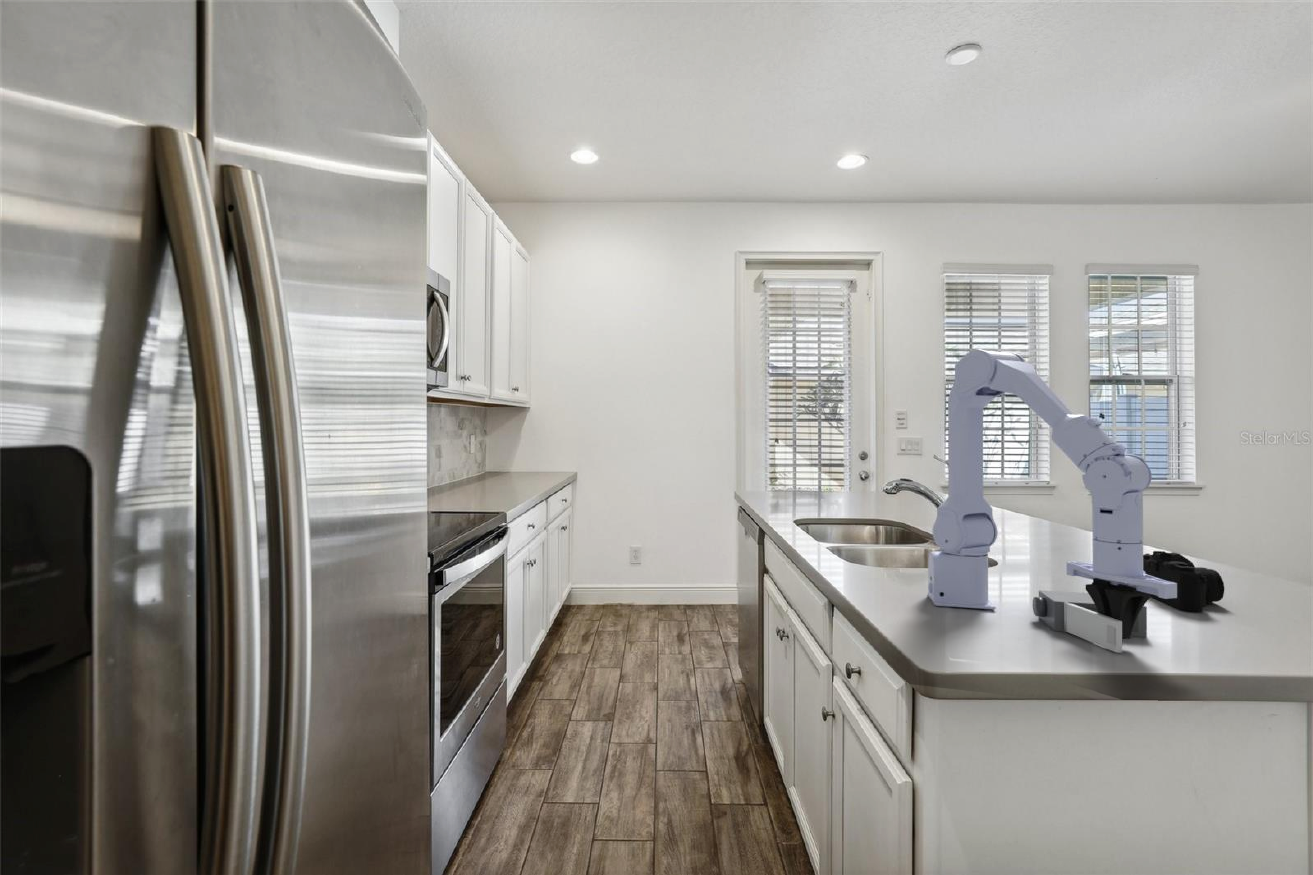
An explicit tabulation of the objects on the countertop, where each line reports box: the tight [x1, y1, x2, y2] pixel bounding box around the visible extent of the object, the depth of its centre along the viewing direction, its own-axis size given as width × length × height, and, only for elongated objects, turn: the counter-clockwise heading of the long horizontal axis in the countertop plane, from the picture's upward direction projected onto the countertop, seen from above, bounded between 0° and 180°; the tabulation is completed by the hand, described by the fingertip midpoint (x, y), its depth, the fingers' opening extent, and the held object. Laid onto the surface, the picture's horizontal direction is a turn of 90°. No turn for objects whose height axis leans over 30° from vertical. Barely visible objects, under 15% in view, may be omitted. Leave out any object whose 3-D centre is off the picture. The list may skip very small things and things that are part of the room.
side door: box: [1063, 602, 1123, 653], centre depth 88 cm, size 10×1×4 cm, turn 5°
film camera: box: [1143, 550, 1225, 614], centre depth 110 cm, size 15×10×9 cm, turn 168°
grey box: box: [1032, 590, 1148, 638], centre depth 95 cm, size 13×7×5 cm, turn 75°
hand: (1117, 637), depth 86 cm, fingers closed, pressing on side door
